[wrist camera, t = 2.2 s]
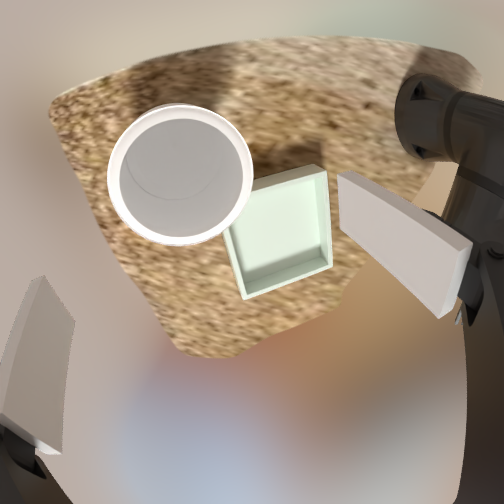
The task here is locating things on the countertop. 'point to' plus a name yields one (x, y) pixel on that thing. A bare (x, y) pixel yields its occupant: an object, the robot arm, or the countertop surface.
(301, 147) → the countertop surface
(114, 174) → the jar
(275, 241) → the tray
